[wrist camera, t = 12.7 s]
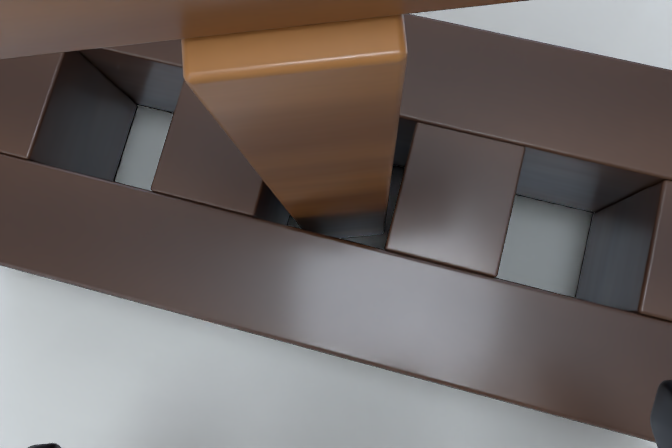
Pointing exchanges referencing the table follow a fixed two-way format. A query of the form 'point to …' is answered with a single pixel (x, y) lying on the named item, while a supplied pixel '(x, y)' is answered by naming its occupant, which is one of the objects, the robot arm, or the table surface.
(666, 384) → the robot arm
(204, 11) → the brown beam with peg
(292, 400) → the table surface
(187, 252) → the rack
